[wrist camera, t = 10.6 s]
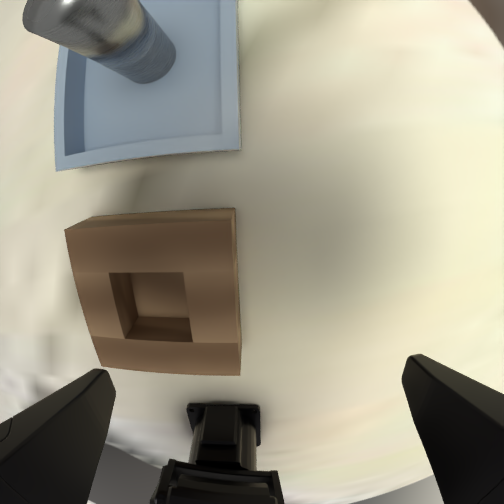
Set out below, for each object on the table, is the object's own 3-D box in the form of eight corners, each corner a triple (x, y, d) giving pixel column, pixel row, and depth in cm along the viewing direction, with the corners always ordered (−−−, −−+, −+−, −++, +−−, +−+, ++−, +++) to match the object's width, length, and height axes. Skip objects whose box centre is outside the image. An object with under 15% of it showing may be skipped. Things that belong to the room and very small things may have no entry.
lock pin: (175, 79, 15) (95, 10, 5) (122, 88, 15) (14, 47, 5) (176, 30, 14) (112, -59, 4) (125, 41, 14) (34, -23, 4)
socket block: (241, 344, 21) (240, 375, 18) (118, 339, 21) (101, 366, 18) (235, 208, 18) (230, 220, 14) (91, 216, 18) (64, 229, 15)
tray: (241, 150, 17) (239, 149, 14) (80, 167, 17) (56, 171, 14) (236, -24, 13) (234, -47, 10) (89, 7, 13) (70, -8, 10)
